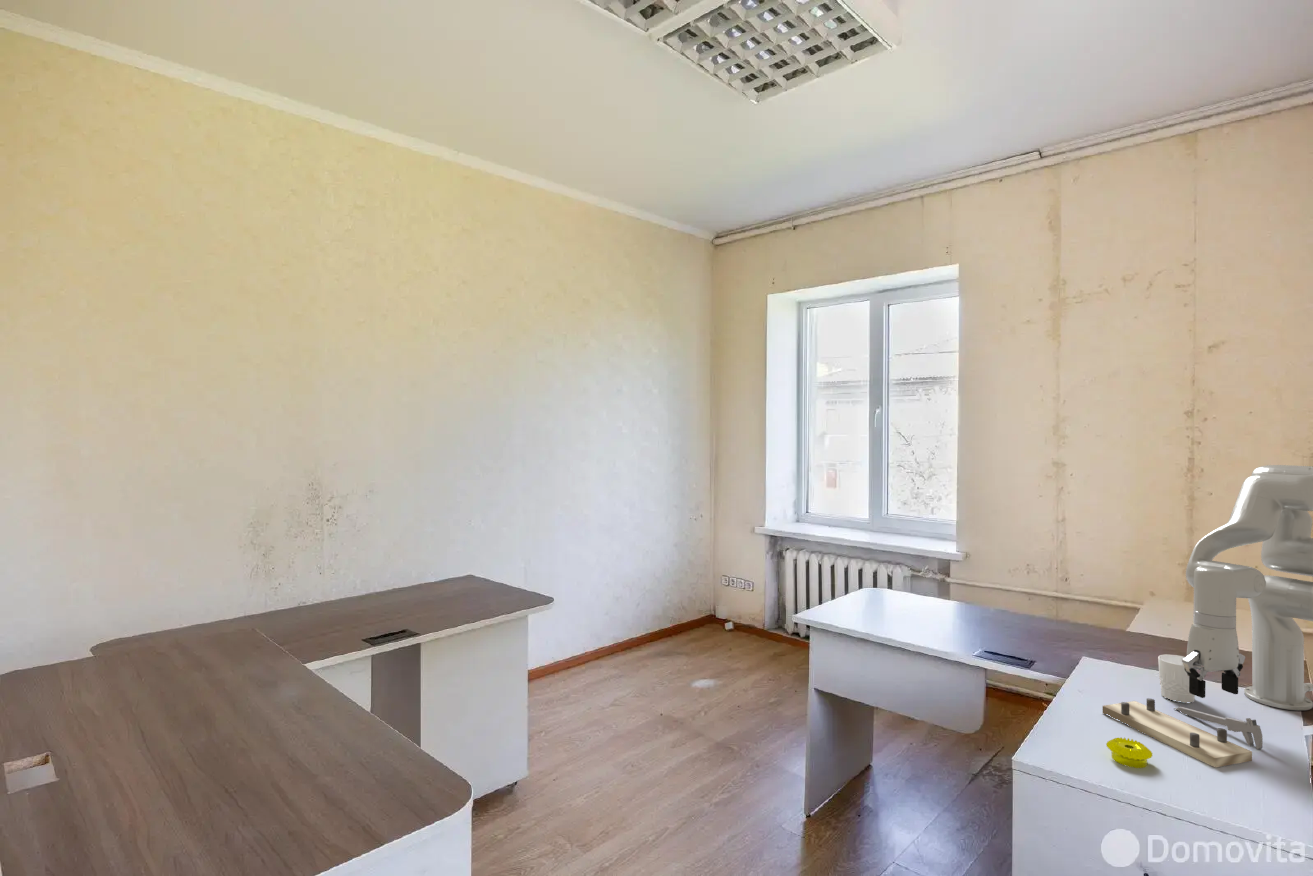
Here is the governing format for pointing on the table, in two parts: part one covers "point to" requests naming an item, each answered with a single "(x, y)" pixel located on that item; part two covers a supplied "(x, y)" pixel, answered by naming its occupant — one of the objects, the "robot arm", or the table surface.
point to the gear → (1129, 752)
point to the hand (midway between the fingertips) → (1213, 693)
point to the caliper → (1231, 725)
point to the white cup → (1174, 678)
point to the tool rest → (1179, 733)
